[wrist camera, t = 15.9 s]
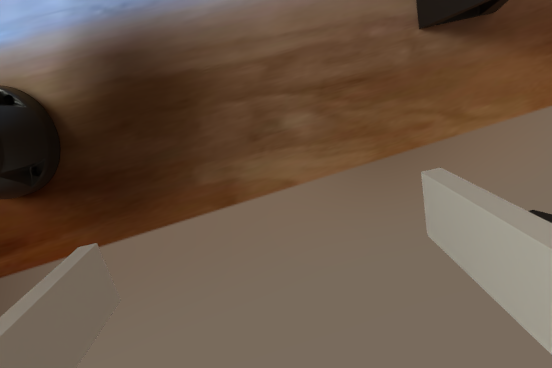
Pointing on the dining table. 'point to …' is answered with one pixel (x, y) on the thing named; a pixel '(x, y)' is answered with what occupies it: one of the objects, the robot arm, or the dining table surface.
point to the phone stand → (453, 10)
